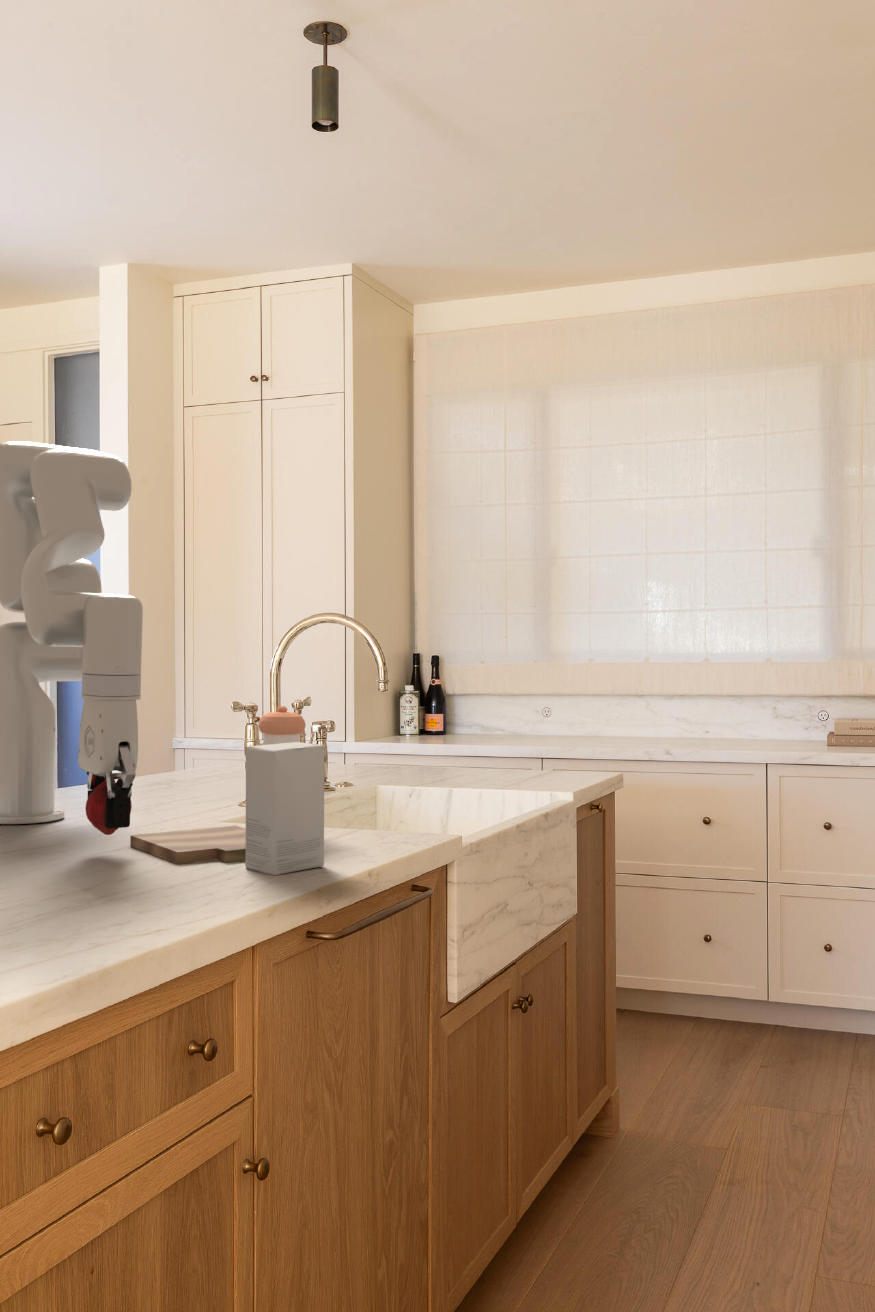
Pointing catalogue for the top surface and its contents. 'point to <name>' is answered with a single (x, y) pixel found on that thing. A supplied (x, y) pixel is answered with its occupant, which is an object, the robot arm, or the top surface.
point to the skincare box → (284, 807)
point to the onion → (99, 808)
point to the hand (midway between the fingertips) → (108, 822)
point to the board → (195, 844)
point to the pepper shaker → (281, 726)
